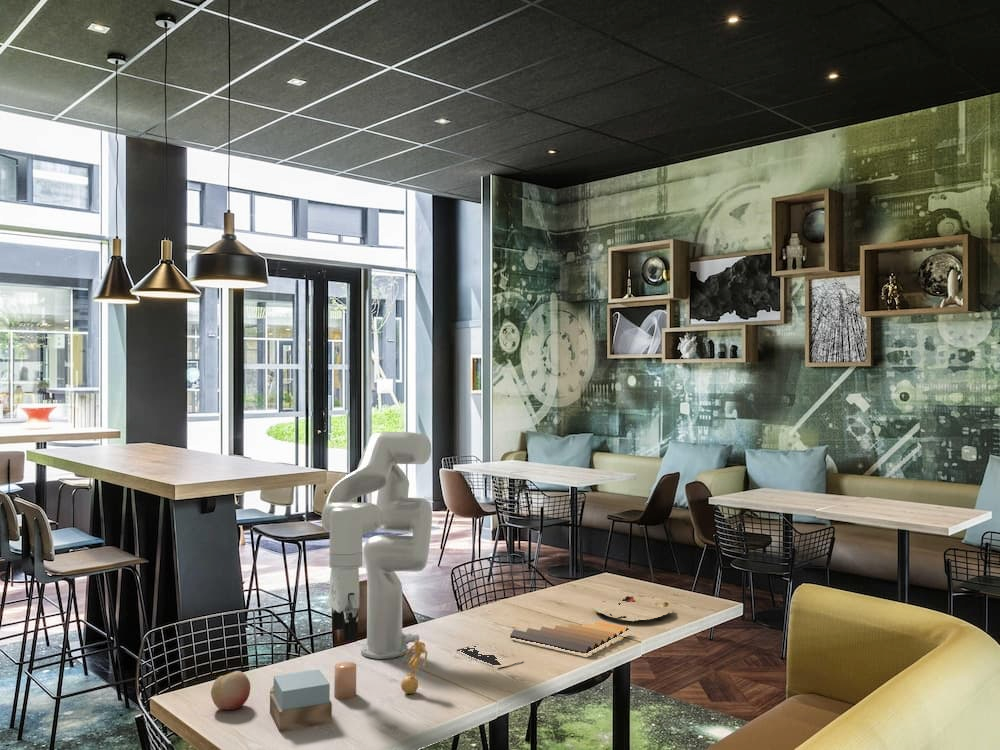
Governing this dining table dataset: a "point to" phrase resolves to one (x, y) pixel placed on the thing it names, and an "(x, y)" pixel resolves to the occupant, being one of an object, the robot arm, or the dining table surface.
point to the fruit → (231, 690)
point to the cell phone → (483, 657)
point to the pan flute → (572, 636)
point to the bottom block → (300, 715)
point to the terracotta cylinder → (345, 681)
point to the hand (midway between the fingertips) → (344, 634)
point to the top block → (301, 689)
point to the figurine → (413, 668)
